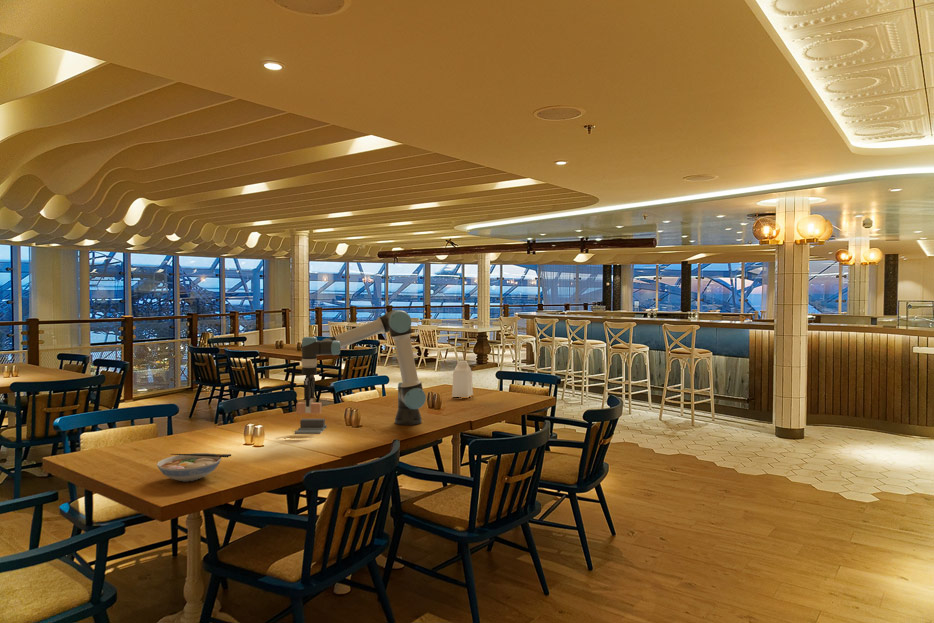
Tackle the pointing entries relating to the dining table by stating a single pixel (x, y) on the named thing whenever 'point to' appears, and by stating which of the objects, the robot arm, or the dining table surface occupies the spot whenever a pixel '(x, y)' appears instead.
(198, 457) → the ramen bowl
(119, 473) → the dining table surface
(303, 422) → the charcoal bar
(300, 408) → the terracotta bar
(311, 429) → the slot board
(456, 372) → the milk
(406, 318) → the robot arm
